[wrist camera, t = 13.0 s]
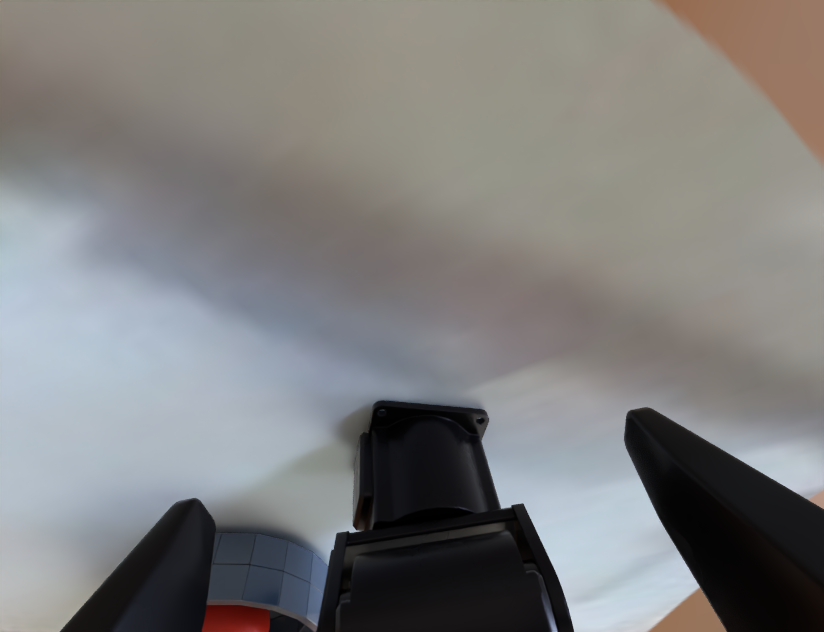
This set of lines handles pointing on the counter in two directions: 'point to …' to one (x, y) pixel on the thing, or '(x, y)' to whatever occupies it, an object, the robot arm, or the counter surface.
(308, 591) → the bowl
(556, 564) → the counter surface
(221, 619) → the tomato
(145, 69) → the counter surface
